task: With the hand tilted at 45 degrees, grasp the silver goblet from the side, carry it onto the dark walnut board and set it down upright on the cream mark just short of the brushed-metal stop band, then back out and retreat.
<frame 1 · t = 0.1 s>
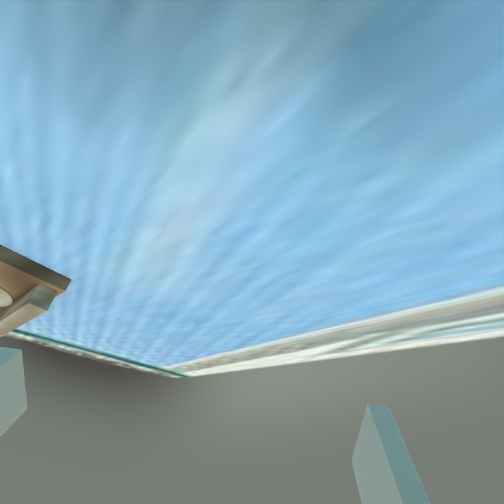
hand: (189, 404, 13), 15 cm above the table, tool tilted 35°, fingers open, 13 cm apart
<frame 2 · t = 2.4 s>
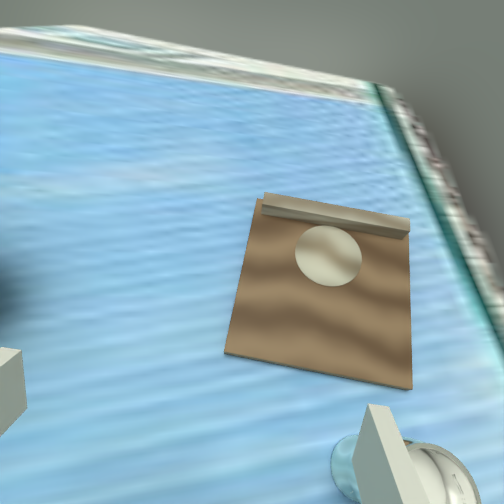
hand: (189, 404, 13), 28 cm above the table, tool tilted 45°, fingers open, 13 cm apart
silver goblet: (357, 467, 36), on the table
walnut board: (322, 286, 45), on the table
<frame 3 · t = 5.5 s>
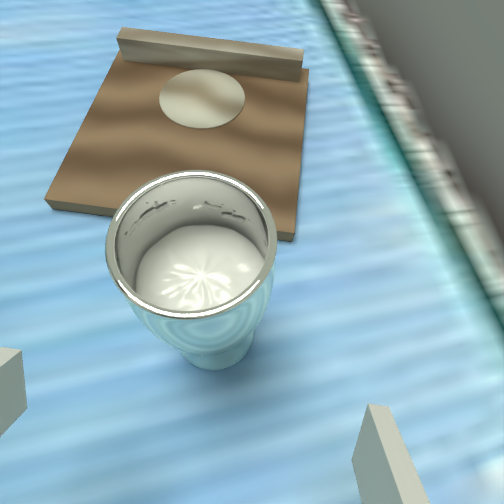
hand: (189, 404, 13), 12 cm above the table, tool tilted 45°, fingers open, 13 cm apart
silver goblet: (215, 330, 26), on the table
walnut board: (196, 136, 35), on the table
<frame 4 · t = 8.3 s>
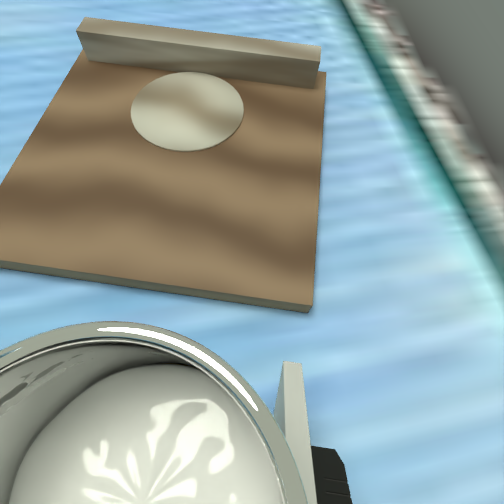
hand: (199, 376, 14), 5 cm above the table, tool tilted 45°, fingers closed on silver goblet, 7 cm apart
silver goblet: (196, 459, 18), on the table, touching gripper
walnut board: (179, 160, 27), on the table
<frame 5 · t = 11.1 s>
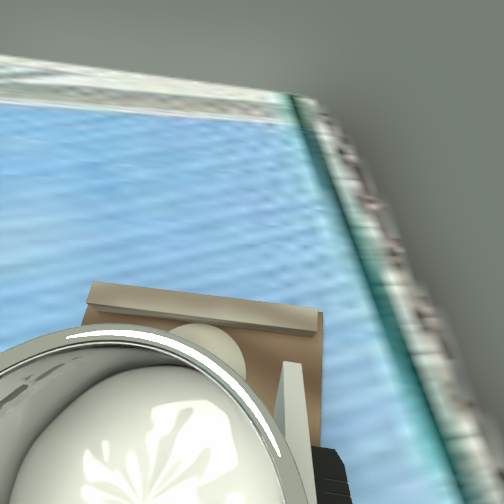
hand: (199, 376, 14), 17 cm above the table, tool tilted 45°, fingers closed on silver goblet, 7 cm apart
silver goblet: (196, 460, 18), point 11 cm above the table, touching gripper
walnut board: (187, 427, 28), on the table
when the fingers open (8 cm above the table, at t = 14.0 s): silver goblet drops 1 cm, resting on walnut board.
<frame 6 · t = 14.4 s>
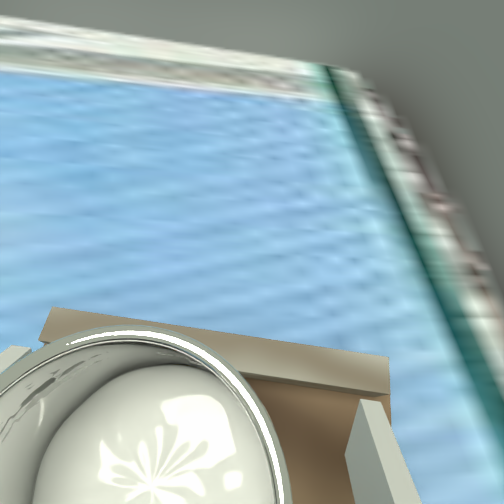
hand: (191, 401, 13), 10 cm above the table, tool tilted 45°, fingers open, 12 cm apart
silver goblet: (199, 458, 19), point 2 cm above the table, touching walnut board
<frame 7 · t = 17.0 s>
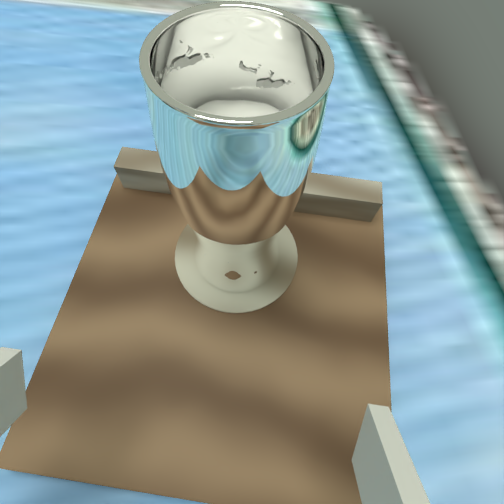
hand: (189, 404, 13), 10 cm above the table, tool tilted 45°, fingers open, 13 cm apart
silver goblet: (236, 255, 25), point 2 cm above the table, touching walnut board
walnut board: (227, 312, 24), on the table
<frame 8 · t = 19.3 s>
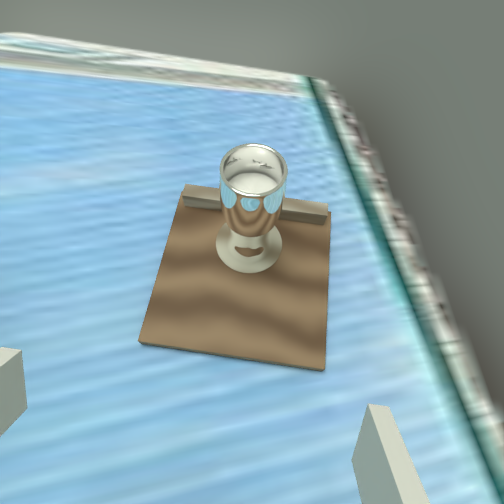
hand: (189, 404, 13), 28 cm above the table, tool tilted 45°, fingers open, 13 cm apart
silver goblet: (249, 243, 46), point 2 cm above the table, touching walnut board
walnut board: (244, 274, 45), on the table
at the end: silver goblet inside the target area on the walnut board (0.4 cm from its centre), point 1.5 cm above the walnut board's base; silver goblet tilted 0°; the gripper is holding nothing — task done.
